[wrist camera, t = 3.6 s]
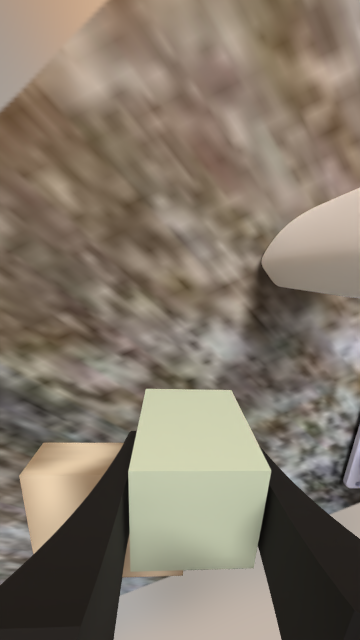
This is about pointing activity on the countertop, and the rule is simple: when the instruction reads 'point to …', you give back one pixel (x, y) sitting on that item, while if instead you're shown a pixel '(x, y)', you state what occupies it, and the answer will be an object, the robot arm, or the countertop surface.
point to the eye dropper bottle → (319, 249)
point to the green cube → (195, 483)
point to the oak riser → (67, 489)
